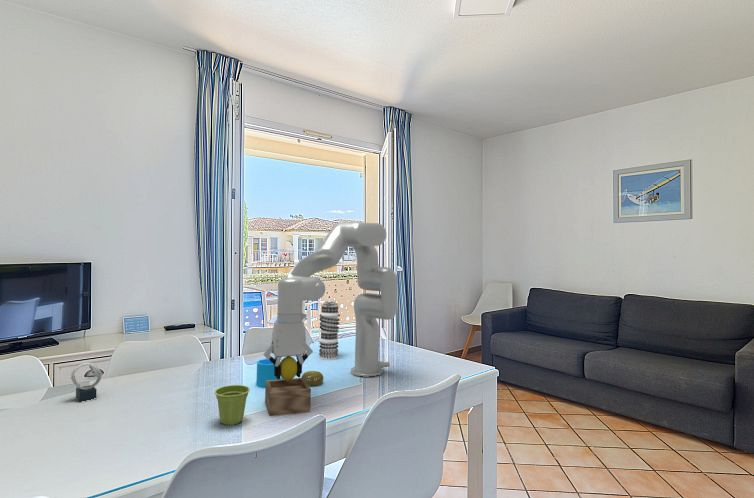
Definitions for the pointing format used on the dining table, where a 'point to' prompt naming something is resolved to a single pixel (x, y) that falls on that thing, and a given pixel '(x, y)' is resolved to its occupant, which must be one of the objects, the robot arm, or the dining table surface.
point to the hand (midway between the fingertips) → (288, 376)
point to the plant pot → (231, 403)
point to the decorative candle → (329, 331)
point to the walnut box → (287, 396)
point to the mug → (265, 372)
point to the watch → (86, 391)
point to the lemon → (288, 368)
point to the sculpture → (313, 378)
